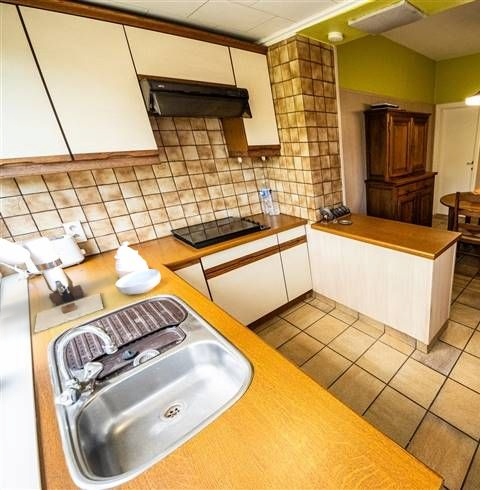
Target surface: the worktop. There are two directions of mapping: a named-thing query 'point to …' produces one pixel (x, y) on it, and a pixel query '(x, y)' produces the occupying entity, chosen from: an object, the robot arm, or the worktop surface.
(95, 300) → the board
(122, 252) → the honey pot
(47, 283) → the squeeze bottle
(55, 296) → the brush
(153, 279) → the cereal bowl
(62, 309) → the cork block
